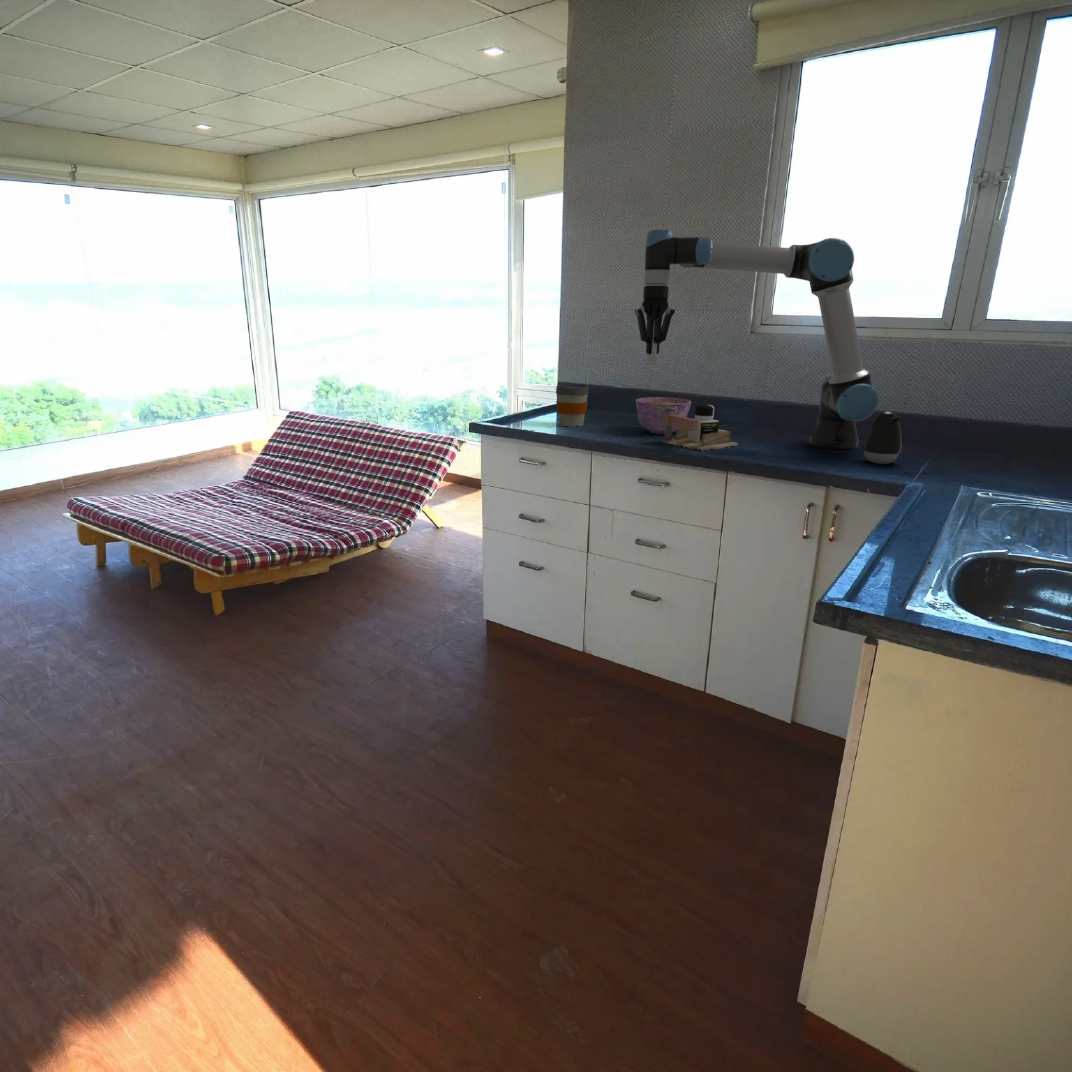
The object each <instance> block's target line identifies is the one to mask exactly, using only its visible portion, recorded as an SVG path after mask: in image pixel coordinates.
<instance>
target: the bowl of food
mask: <svg viewBox="0 0 1072 1072" xmlns="http://www.w3.org/2000/svg"><path fill="white" fill-rule="evenodd" d="M691 404H692V401H691V400H689V399H687V398H679V397H665V396H662V397H659V396H655V397H653V396H652V397H651V396H650V397H640V398H637V399H635V405H636V413H637V418H638V422H639V423H640V425H641V427H642V428H644V429H645V430H647V431H649V433H650V434H654V433H656V435H665V425H662V419H663V414H666V408H674V410H673V414H675V415H677V416H682V417H687V418H688V415H689V411H690V408H691ZM676 429H681V428H677V427H673V426H672V434H673V433H674V432H676Z"/></svg>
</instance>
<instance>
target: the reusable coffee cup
mask: <svg viewBox="0 0 1072 1072" xmlns="http://www.w3.org/2000/svg"><path fill="white" fill-rule="evenodd" d="M555 387H556V389H555V394H556V408H557V410H556V411H557V413H558V417H559V419H558V420H559V426H560V425H563V426H581V427H583V426H584V420H585V416H586V415H585V414H586V413H587V409H588V402H589V401H588V396H589V394H590V393H589V386H588V385H585V384H573V383H572V384H568V383H567V384H557V385H556V386H555ZM582 425H583V426H582ZM563 426H562V427H563Z"/></svg>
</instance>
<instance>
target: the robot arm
mask: <svg viewBox="0 0 1072 1072" xmlns="http://www.w3.org/2000/svg"><path fill="white" fill-rule="evenodd" d="M645 240H646V241H645V252H644V253H645V259H644V278H643V279H644V281H643V284H644V287H643V293H642V294H643V295H642V296H643V301H642V304H641V306H640V307H639V308H637V309H634V314H635V315H636V318H637V323H638V330H639V335H640V336H639V337H640V341H641V342H645V344H646V345H645V346H646V349H645V350H646V351H645V353H646V355H647V365H649V366H657V355H659V353H660V344H661V343H662V342H665V341H666V339H667V336H668V332H669V328H670V324H671V320H672V317H673V316H674V314H675V313H676V310H675V309H674V308H673V309H672V308H671V307H670V306H669V302H668V298H669V288H670V287H669V286H668V285H669V284H670V275H671V274H670V270H671V267H670V266H671V265H680V267H683V268H687V269H689V268H697V269H699V268H700V269H703V268H704V269H716V270H727V271H729V270H730V271H739V272H740V271H743V272H755V273H757V272H758V273H767V274H783V275H784V277H785V278H787V279H797V280H802V281H803V280H804V281H806V282H809V286H810V287H809V288H810V292H811V294H812V295H814V296H816V297H817V299H818V304H819V310H820V314H821V320H822V325H823V329H824V330H823V331H824V336H825V341H826V346H827V351H828V358H829V362H830V368H831V372H832V374H827V375H825V376H824V378H823V380H822V383H821V392H820V394H821V395H820V401H819V408H818V409H819V410H818V416H817V421H816V423H815V426H814V428H813V429H812V431H811V434H810V436H809V441H808V443H809V445H811V446H814V447H817V448H824V449H833V450H850V449H851V450H852V449H857V448H858V447H859V441H860V440H859V435H858V431H857V430H858V429H857V426H856V425H857V424H856V422H862V421H865V420H867V419H868V418H870V417H871V416H872V415H873V414H874V413H875V412H876V410H877V408H878V406H879V400H880V399H879V398H880V397H879V394H878V392H877V390H876V388H875V387H874V386H873V384H872V379H871V378H872V377H871V374H870V371H869V370H867V369H865V368H864V365H863V361H862V355H861V354H862V353H861V349H860V343H859V342H860V341H859V338H858V332H857V331H858V330H857V327H856V320H855V313H854V307H853V302H852V297H851V291H850V287H851V286H852V284H853V282H854V281H855V280H854V276H853V267H854V263H855V254H854V250H853V248H852V246H851V245H850V243H848V242H847V241H845V240H844V239H841V238H837V237H829V238H824V239H822V240H820V241H818V242H814V243H809V244H791V245H790V246H789V247H781V246H779V247H778V246H768V245H767V246H763V245H750V244H738V243H737V244H734V243H721V242H718V243H717V242H713V239H712V238H711V237H705V236H704V237H703V236H699V237H697V236H696V237H695V236H693V237H691V236H690V237H686V236H685V237H675V236H674V235H673V231H672V230H670V229H652V230H649V231H648V232H647V233H646V239H645ZM644 314H645V315H646V318H645V315H644ZM664 314H665V315H664ZM663 316H664V317H663Z"/></svg>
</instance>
